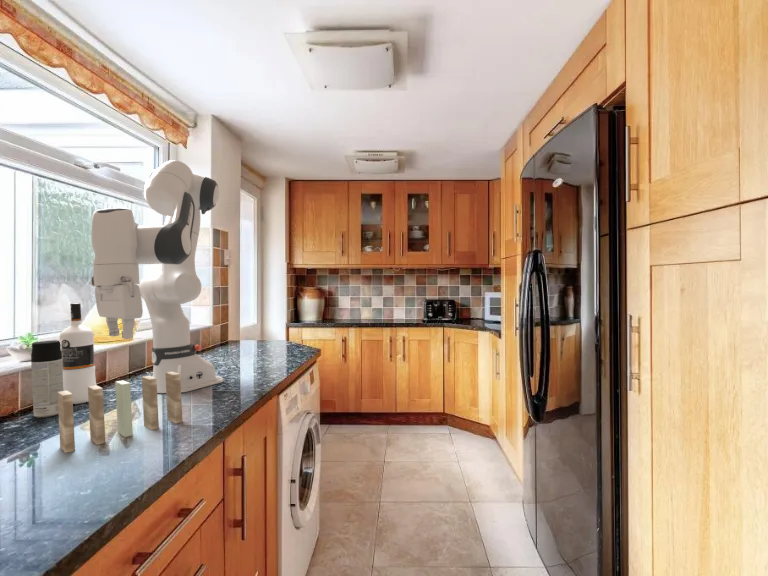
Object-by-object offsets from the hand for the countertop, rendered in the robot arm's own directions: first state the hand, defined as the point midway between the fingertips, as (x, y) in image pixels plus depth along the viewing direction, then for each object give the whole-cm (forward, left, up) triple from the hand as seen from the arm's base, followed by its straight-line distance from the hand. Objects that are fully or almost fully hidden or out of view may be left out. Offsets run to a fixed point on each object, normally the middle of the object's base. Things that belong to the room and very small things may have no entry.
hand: (120, 337), depth 97 cm
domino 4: (-5, 0, -22) cm, 23 cm away
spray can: (+8, -36, -23) cm, 43 cm away
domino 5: (-11, 0, -22) cm, 25 cm away
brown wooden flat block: (+6, 0, -22) cm, 23 cm away
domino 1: (+11, 0, -22) cm, 25 cm away
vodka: (-1, -45, -23) cm, 50 cm away
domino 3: (0, 0, -22) cm, 22 cm away
